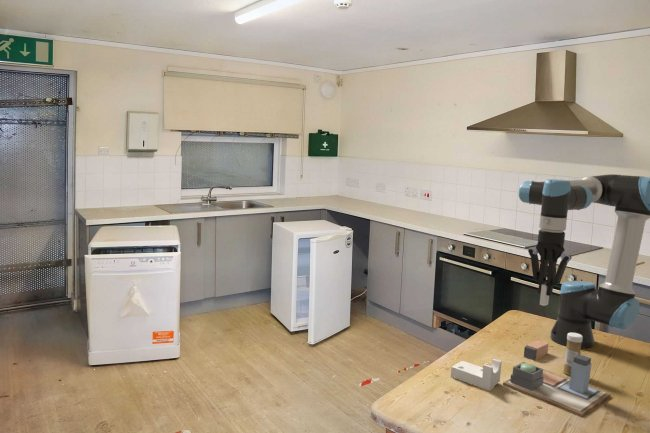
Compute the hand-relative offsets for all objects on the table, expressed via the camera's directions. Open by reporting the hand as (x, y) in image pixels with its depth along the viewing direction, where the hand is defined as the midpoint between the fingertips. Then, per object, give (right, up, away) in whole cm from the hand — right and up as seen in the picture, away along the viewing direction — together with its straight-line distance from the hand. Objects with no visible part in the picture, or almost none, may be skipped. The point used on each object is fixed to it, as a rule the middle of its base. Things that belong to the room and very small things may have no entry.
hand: (543, 304), depth 169 cm
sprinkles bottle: (+12, -24, +8) cm, 28 cm away
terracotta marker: (+10, -19, +26) cm, 34 cm away
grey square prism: (+8, -25, -6) cm, 27 cm away
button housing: (-6, -25, -2) cm, 26 cm away
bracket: (-21, -24, 0) cm, 32 cm away
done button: (-6, -21, -3) cm, 22 cm away
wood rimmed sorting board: (+2, -25, -4) cm, 26 cm away
